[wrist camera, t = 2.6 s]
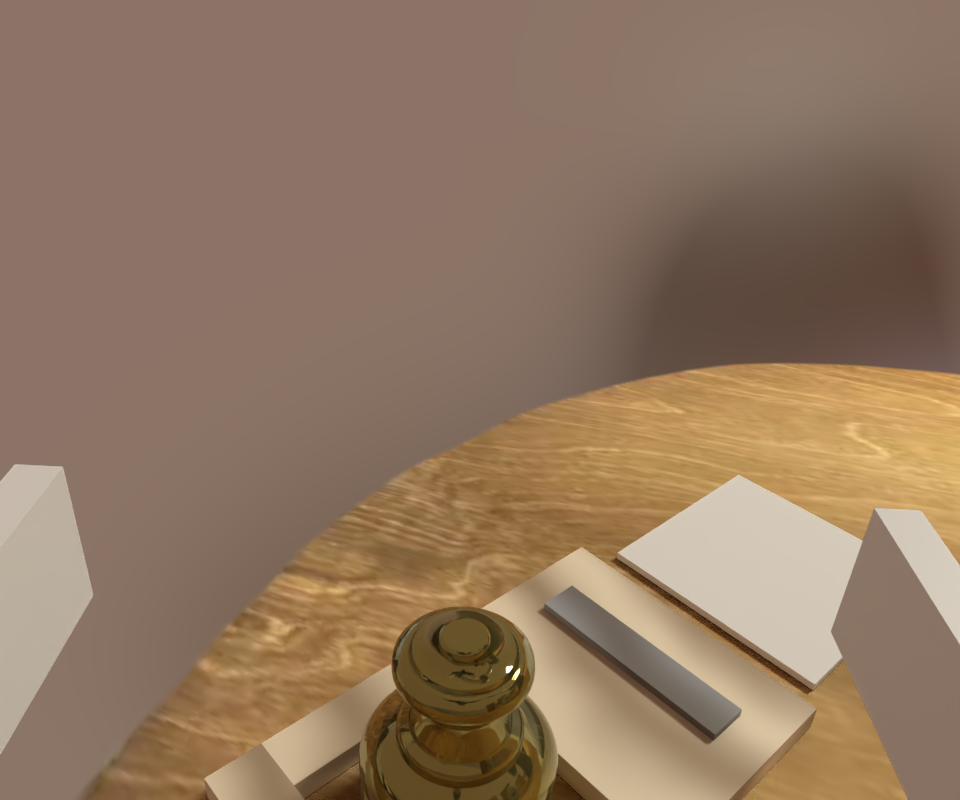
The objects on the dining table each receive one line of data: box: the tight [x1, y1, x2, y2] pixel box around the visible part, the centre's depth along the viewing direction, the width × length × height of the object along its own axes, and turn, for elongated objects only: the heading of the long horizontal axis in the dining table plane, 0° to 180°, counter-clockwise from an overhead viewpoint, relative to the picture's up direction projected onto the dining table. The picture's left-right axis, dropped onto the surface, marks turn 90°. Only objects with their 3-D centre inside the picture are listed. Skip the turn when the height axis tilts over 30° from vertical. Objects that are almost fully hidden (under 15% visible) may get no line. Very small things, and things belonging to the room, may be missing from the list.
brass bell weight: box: [359, 606, 558, 800], centre depth 31 cm, size 7×7×10 cm
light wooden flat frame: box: [204, 547, 817, 800], centre depth 36 cm, size 22×14×2 cm, turn 132°
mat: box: [617, 475, 863, 690], centre depth 47 cm, size 12×12×1 cm
